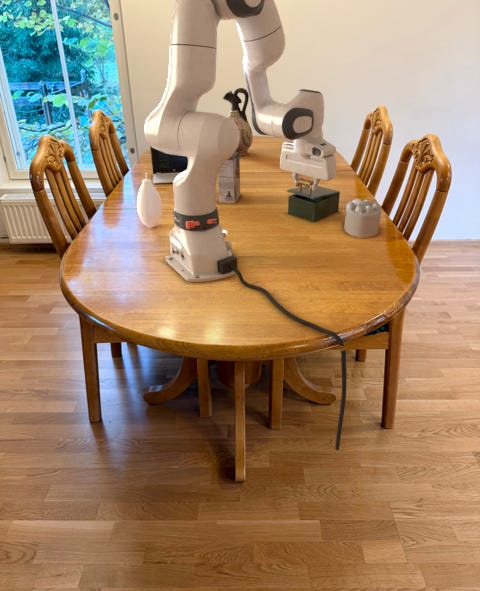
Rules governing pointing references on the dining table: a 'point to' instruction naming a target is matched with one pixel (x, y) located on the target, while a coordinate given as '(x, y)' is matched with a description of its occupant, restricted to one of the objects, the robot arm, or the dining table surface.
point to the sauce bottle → (149, 204)
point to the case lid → (308, 193)
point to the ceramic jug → (240, 119)
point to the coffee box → (229, 180)
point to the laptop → (166, 166)
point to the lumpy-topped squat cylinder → (362, 218)
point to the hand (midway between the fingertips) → (305, 188)
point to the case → (312, 207)
